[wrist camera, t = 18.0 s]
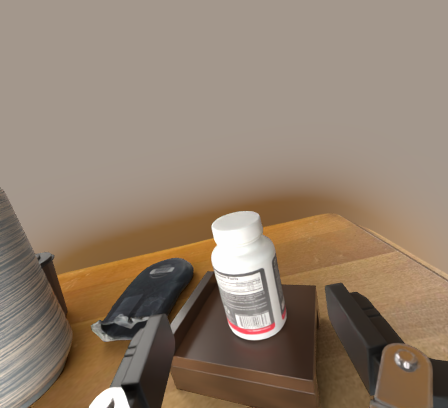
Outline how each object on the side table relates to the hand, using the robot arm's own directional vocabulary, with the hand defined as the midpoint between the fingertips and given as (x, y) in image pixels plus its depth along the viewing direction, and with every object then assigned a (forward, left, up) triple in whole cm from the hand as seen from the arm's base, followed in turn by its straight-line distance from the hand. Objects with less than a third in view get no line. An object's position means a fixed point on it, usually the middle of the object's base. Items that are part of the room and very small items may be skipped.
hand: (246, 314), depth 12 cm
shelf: (+4, -8, -12) cm, 15 cm away
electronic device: (+20, -14, -12) cm, 27 cm away
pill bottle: (+3, -8, -8) cm, 12 cm away
